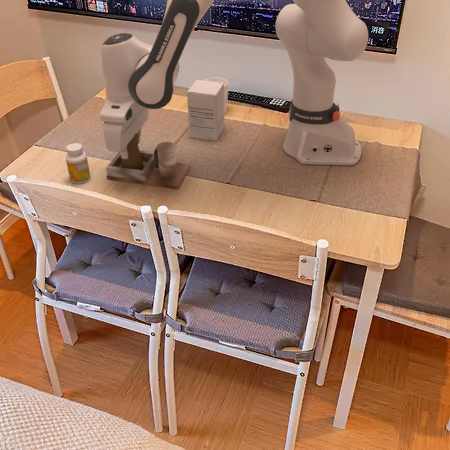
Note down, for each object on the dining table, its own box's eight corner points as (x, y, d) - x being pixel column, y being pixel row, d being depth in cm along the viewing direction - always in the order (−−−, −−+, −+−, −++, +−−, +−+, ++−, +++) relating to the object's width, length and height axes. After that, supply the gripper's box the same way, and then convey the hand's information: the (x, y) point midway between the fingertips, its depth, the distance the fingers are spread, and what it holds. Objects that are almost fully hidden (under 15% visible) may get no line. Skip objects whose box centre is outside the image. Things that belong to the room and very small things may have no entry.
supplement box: (197, 124, 166) (195, 78, 157) (225, 128, 164) (225, 82, 155) (188, 137, 159) (186, 91, 150) (216, 141, 157) (216, 94, 148)
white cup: (228, 117, 170) (228, 87, 164) (203, 116, 170) (202, 87, 164) (228, 106, 176) (228, 77, 170) (204, 106, 176) (204, 77, 170)
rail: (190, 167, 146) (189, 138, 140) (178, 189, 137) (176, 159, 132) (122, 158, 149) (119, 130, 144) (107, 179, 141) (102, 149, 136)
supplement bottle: (66, 177, 142) (59, 145, 136) (85, 171, 144) (79, 139, 138) (75, 186, 138) (68, 154, 132) (94, 179, 141) (88, 147, 135)
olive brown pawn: (147, 164, 145) (144, 128, 138) (136, 175, 141) (132, 139, 134) (128, 160, 147) (123, 124, 140) (117, 171, 142) (111, 134, 136)
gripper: (129, 83, 140) (134, 130, 149) (96, 117, 125) (104, 167, 133) (151, 86, 139) (155, 133, 148) (121, 120, 123) (128, 171, 132)
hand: (131, 149), depth 140 cm, fingers open, 7 cm apart
